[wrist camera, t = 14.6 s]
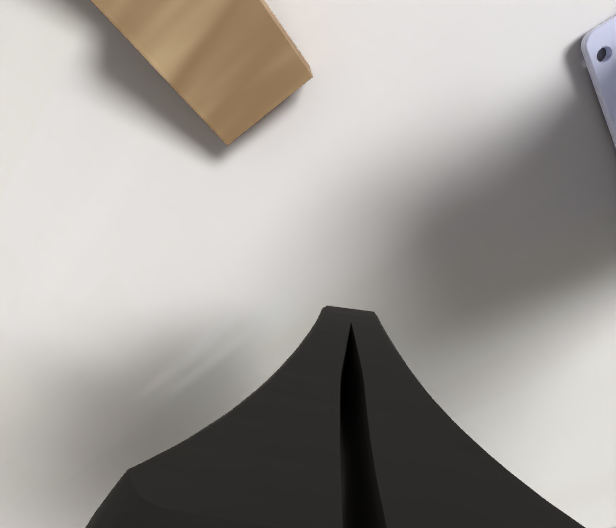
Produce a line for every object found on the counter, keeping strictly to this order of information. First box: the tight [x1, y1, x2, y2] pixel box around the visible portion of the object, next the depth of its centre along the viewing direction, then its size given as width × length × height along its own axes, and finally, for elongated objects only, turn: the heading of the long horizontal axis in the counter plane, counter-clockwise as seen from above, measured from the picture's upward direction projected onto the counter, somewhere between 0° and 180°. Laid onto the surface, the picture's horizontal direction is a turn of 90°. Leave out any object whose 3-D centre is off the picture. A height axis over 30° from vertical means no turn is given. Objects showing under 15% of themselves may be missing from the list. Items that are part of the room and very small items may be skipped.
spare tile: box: [91, 0, 313, 146], centre depth 15 cm, size 2×4×7 cm
